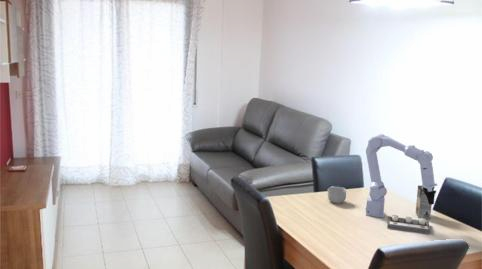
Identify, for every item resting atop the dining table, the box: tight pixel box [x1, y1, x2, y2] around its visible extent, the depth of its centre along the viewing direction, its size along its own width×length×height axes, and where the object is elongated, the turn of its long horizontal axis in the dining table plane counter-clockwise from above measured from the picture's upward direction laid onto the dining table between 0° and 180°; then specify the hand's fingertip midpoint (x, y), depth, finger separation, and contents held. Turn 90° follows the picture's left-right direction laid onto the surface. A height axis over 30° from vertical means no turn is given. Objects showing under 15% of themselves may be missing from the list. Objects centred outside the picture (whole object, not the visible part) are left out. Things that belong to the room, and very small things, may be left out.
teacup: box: [327, 185, 347, 205], centre depth 259 cm, size 14×11×8 cm
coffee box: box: [415, 185, 433, 220], centre depth 236 cm, size 9×6×16 cm
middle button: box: [405, 216, 413, 223], centre depth 222 cm, size 3×3×2 cm
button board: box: [387, 216, 431, 235], centre depth 222 cm, size 20×12×2 cm, turn 70°
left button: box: [391, 214, 399, 222], centre depth 225 cm, size 3×3×2 cm
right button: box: [418, 218, 427, 225], centre depth 220 cm, size 3×3×2 cm
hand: (430, 202), depth 219 cm, fingers open, 7 cm apart
